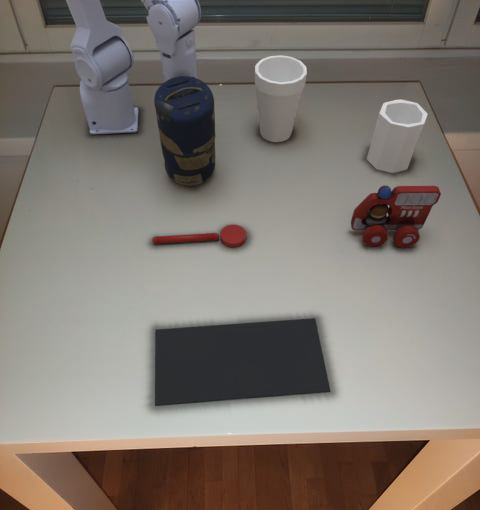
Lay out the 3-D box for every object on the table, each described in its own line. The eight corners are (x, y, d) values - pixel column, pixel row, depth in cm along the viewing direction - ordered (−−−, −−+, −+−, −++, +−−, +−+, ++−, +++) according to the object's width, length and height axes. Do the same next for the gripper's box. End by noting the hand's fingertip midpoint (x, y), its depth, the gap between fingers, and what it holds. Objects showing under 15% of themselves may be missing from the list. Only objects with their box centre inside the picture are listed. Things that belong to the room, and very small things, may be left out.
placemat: (155, 405, 64) (154, 404, 64) (155, 330, 70) (155, 329, 70) (330, 391, 65) (330, 390, 65) (314, 319, 72) (315, 318, 72)
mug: (414, 173, 90) (432, 127, 82) (369, 172, 90) (382, 126, 82) (403, 133, 97) (418, 87, 88) (361, 133, 97) (372, 87, 88)
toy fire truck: (346, 217, 84) (359, 169, 75) (416, 219, 83) (437, 171, 75) (350, 247, 80) (364, 200, 71) (423, 249, 80) (447, 202, 71)
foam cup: (247, 142, 95) (249, 79, 84) (258, 115, 100) (261, 52, 89) (294, 150, 93) (301, 87, 83) (302, 122, 98) (311, 59, 87)
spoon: (152, 252, 79) (151, 247, 78) (153, 233, 81) (152, 228, 80) (247, 246, 80) (247, 241, 79) (244, 227, 82) (244, 222, 81)
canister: (218, 187, 88) (218, 109, 71) (167, 192, 87) (155, 115, 70) (211, 146, 91) (210, 64, 75) (162, 151, 90) (149, 68, 74)
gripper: (206, 98, 75) (210, 168, 87) (202, 50, 83) (206, 119, 94) (162, 100, 75) (172, 170, 86) (161, 52, 83) (170, 121, 94)
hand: (187, 144), depth 90 cm, fingers closed, pressing on canister
